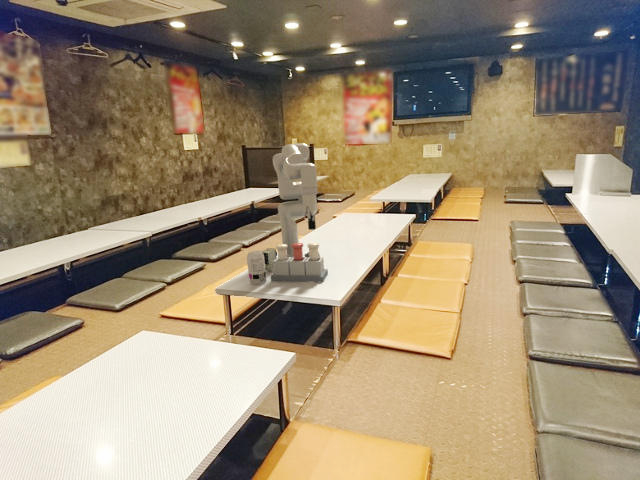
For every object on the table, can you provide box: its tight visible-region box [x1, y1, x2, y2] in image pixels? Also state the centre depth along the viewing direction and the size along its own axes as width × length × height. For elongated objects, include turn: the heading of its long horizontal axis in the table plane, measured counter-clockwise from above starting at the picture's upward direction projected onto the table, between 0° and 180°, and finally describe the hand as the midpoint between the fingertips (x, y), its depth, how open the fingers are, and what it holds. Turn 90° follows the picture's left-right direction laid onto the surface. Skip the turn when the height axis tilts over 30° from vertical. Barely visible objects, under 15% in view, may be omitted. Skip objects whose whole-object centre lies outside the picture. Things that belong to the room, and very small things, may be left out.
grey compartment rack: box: [270, 256, 329, 283], centre depth 208 cm, size 12×26×10 cm, turn 78°
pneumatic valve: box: [261, 247, 278, 272], centre depth 223 cm, size 6×12×12 cm, turn 156°
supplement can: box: [246, 250, 267, 286], centre depth 204 cm, size 8×8×15 cm
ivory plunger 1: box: [275, 243, 288, 261], centre depth 208 cm, size 6×6×8 cm
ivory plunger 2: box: [307, 242, 320, 261], centre depth 205 cm, size 6×6×8 cm
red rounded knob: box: [292, 242, 304, 261], centre depth 206 cm, size 6×6×8 cm
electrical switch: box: [304, 251, 321, 257], centre depth 225 cm, size 9×5×9 cm, turn 152°
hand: (312, 229), depth 202 cm, fingers closed
